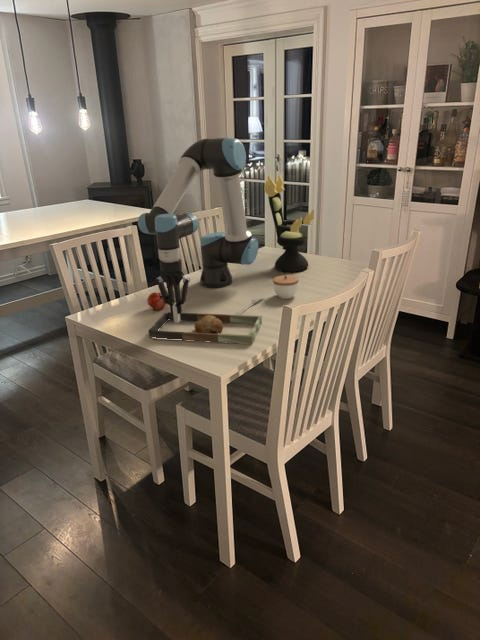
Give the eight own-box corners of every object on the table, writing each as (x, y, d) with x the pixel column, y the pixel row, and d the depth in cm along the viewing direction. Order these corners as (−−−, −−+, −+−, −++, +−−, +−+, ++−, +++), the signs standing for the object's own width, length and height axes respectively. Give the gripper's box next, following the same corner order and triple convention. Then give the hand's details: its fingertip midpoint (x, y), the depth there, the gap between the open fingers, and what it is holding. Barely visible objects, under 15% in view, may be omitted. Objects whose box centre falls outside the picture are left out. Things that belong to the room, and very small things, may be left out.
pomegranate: (146, 316, 198) (157, 306, 191) (140, 300, 199) (150, 290, 192) (161, 312, 203) (172, 302, 196) (155, 297, 204) (165, 286, 197)
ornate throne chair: (302, 275, 229) (302, 177, 211) (259, 271, 238) (255, 177, 220) (314, 264, 244) (314, 172, 226) (273, 260, 253) (271, 172, 235)
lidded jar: (297, 301, 198) (297, 279, 195) (271, 300, 201) (271, 279, 197) (299, 292, 208) (299, 271, 204) (275, 291, 210) (274, 271, 206)
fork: (233, 320, 190) (232, 314, 189) (260, 298, 205) (260, 292, 203) (239, 322, 188) (238, 315, 187) (266, 299, 203) (265, 293, 202)
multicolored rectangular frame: (166, 319, 188) (165, 312, 187) (261, 323, 180) (261, 315, 178) (148, 339, 172) (147, 331, 171) (252, 344, 164) (251, 336, 162)
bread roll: (200, 346, 173) (202, 331, 167) (189, 326, 179) (191, 311, 173) (225, 340, 177) (228, 325, 171) (213, 320, 183) (216, 305, 177)
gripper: (148, 262, 166) (157, 324, 175) (184, 262, 163) (190, 326, 172) (156, 256, 173) (164, 316, 182) (191, 256, 170) (197, 317, 179)
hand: (177, 321), depth 177 cm, fingers closed
